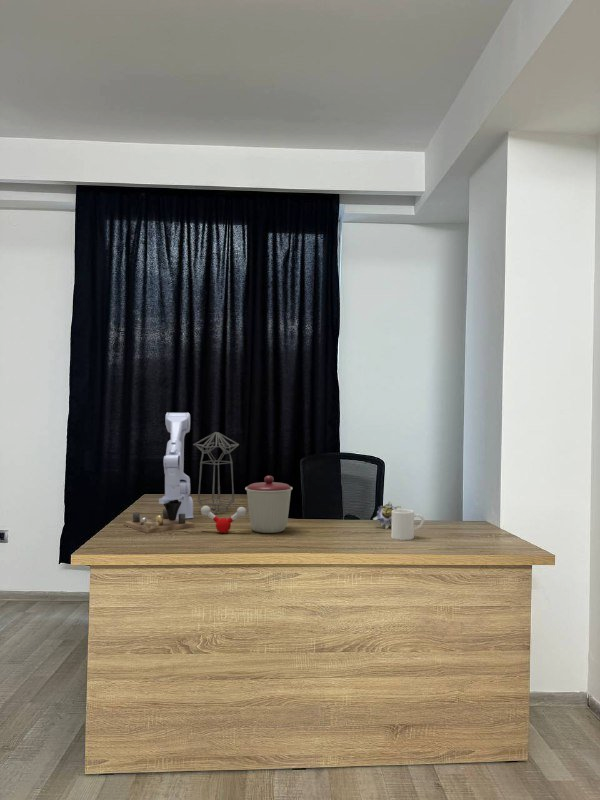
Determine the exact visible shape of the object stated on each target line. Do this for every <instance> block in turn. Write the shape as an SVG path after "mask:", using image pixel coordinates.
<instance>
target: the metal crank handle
mask: <svg viewBox="0 0 600 800" xmlns="http://www.w3.org/2000/svg"><path fill="white" fill-rule="evenodd" d="M155 518H156V522H158V525H163V514H162V515H158V514H157V515H155ZM147 519H148V518H147V517H146V516H145V517H140V520H141V524H142V525H144V522H147ZM148 523H151V522H148Z"/></svg>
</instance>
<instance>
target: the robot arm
mask: <svg viewBox="0 0 600 800" xmlns="http://www.w3.org/2000/svg"><path fill="white" fill-rule="evenodd" d="M164 417H165V418H164V419H165V426H166V430H167V433H170V439H169V440H168V441H167V443H166V450H165V451H166V452H165V455H164V456H163V471H164V495H163V496H162V497H161V498H158V505H163V507H164V509H166V510H167V513H168V517H169V520H170V521H175V520H176V518H177V519H179V514H185V520H186V519H192V518H193V519H194V518H195V516H194V500H193V497H192V496H190V494H191V478H190V476H189V475H187V474H186V473H185V472H184V470H185V469H184V466H185V465H184V464H185V463H184V461H185V456H184V455H185V453H184V452H185V450H184V449H185V438H186V437H185V436H186V434H188V433H190V430H191V414H190V413H189V412H168V411H167V412H166V414H165V416H164Z"/></svg>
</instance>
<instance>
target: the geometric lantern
mask: <svg viewBox="0 0 600 800" xmlns="http://www.w3.org/2000/svg"><path fill="white" fill-rule="evenodd" d="M226 439H227V440H228V441H229V442H232V443H231V444H230V443H229V442H228V441H227V440H226ZM205 440H206V441H205ZM214 440H215V442H214ZM203 441H205V442H204V443H203V444H202V442H203ZM200 443H201V444H200ZM192 445H193V446H195V447H196V448H197V449H198V450H199V451H201V457H200V462H199V466H200V467H199V480H198V481H199V482H198V492H197V493H198V494H197V503H199V505H201V506H202V507H203V506H204V505H203V504H208V505H207V506H208V507H210V506H213V507H210V509H215V510H216V509H218V510H217V511H212V512H213V514H220V513H224V511H225V512H228V511H229V509H228V507H230V506H231V505H232V504H233V503H235V490H234V467H233V464H234V463H233V458H232V455H231V453H232V452H233V451H234V450H235V449H236V448H238V447H239V445H240V444H239V443H238V442H236V441H235V440H233V439H230V438H229V437H227V436H226V435H224V434H223V433H220V432H217V431H215V432H214V431H213V433H211V434H209V435H207V436H206V437H204V438H202V439H200V440H199V441H197V442H195V443H193V444H192ZM210 445H211V446H210ZM204 448H205V450H204ZM216 448H220V449H221V451H222V453H221V454H220V456H219V458H218V459H217V460H216V458H215V457H214V456H213V454H212V451H213V450H214V449H216ZM227 449H228V450H227ZM205 454H207V455H208V457H209V459H210V460H205V461H203V459H204V456H205ZM226 454H228V456H229V461H228V460H222V459H223V458H224V456H225V455H226ZM211 456H212V457H211ZM212 458H213V459H212ZM210 462H211V463H210ZM216 462H217V463H216ZM220 462H221V463H220ZM203 464H204V465H206V464H207V465H213V473H212V475H213V476H212V477H213V478H212V493H211V497H209V498H208V497H207V498H202V499H200V498H201V497H200V496H201V481H202V473H203ZM226 464H230V473H231V491H232V492H231V495H232V496H231V497H232V498H222V497H221V485H220V481H221V480H220V465H226ZM216 466H217V497H215V476H216ZM207 500H211V502H207ZM215 500H216V502H215ZM221 500H224V501H225V502H224V501H223V502H221ZM202 503H203V504H202ZM226 504H227V505H226ZM220 506H221V507H220ZM219 509H220V510H219ZM219 512H220V513H219Z"/></svg>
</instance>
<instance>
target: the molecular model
mask: <svg viewBox="0 0 600 800" xmlns="http://www.w3.org/2000/svg"><path fill="white" fill-rule="evenodd" d="M211 509H212V508H210V506H208V505H203V506H202V507H201V508H200V513H201V515H203V516H208V517H209V519H211V520H212V521H213V522H214V523H215V528H216V531H218V532H219V533H220V534H226V533H228V532H229V531H230V529H231V524H232V523H233V522H234V521H235V520H237V519H238V518H239V517H241V518H242V517H245V516H246V514H247V512H248V511H247V508H245V507H244V506H238V508H237V509H236V512H235V513H234V514H233V515H231V516H230V517H228V518H224V517H222V518H219V517H218V516H217V515H215V513H212V512H213V511H212V510H211Z"/></svg>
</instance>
